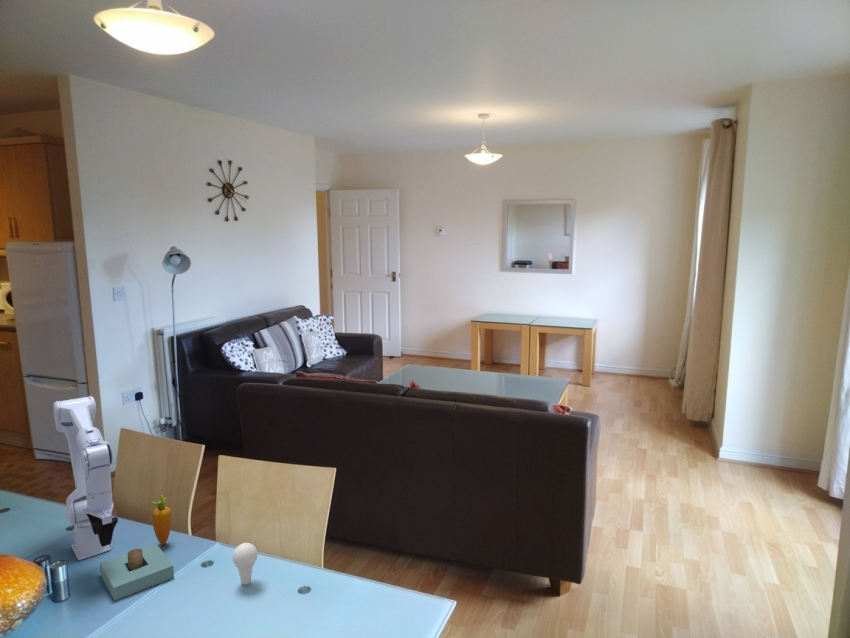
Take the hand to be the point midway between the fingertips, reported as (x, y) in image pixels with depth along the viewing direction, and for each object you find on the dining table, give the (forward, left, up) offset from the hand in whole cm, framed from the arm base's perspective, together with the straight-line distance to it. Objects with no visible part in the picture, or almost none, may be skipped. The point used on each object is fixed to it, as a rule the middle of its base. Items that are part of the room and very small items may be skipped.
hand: (102, 538), depth 142 cm
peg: (+7, +6, -10) cm, 13 cm away
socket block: (+7, +6, -10) cm, 14 cm away
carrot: (-4, +16, -10) cm, 19 cm away
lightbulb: (+29, +26, -10) cm, 40 cm away
